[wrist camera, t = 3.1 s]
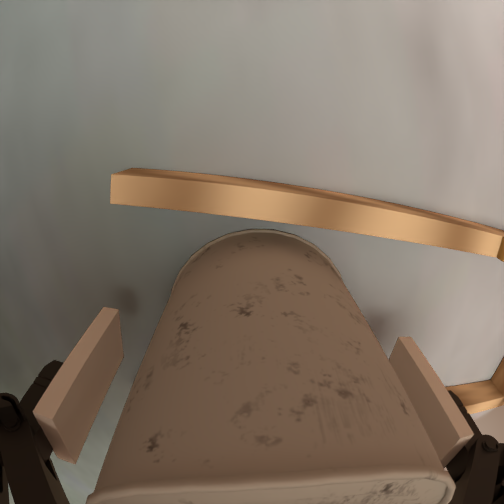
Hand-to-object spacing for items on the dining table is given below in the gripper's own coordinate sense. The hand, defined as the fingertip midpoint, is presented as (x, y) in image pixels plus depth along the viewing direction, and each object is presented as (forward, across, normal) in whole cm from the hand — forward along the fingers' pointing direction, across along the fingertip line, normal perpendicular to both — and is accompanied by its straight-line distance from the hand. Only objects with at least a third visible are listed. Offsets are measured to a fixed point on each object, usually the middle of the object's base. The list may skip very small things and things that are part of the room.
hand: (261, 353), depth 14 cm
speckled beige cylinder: (+4, 0, 0) cm, 4 cm away
